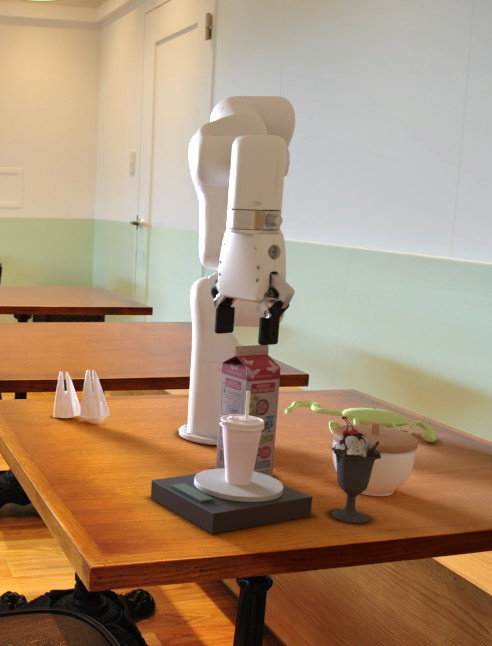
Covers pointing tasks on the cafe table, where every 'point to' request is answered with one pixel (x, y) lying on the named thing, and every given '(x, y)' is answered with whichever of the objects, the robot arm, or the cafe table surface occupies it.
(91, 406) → the shaker set
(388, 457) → the lidded bowl
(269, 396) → the juice carton
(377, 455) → the sundae
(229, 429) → the smoothie
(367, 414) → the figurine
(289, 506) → the scale
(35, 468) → the cafe table surface
